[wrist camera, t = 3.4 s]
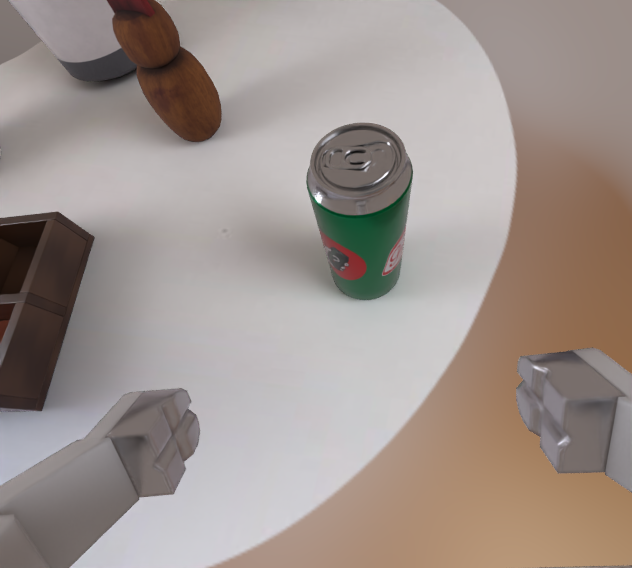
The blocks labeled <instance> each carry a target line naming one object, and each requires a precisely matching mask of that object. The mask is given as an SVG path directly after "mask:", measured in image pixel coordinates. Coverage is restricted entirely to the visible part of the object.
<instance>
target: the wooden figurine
mask: <svg viewBox="0 0 632 568" xmlns="http://www.w3.org/2000/svg"><path fill="white" fill-rule="evenodd" d="M107 2H108V3H109V5H110V7H111V8H112V10H113V12H114V13H115V14H114V16H113V18H112V24H113V31H114V34H115V36H116V39H117V41H118V42H119V44H120V46H121V47H122V49H123V50H124V52H125V53H126V55H127V56H128V58H129V59H130V60H131V61H132V62H133V63H135V64H136V65H137V78H138V81H139V84H140V86H141V89H142V91H143V93H144V95H145V97H146V98H147V100H148V102H149V103H150V105H151V106H152V107H153V109H154V110H155V112H156V113H157V114H158V115H159V116H160V118H161V119H162V120H163V121H164V122H165V123H166V124H167V125H168V126H169V127H170V128H171V129H172V130H173V131H174V132H175V133H176V134H177V135H179V136H180V137H181V138H183V139H185V140H188V141H193V142H198V141H204V140H206V139H209V138H210V137H211V136H212V135H214V134H215V132H216V131H217V129H218V128H219V127H220V123H221V104H220V99H219V95H218V92H217V90H216V88H215V86H214V84H213V82H212V80H211V79H210V77H209V75H208V74H207V72H206V71H205V69H204V67H203V66H202V65H201V63H200V62H199V61H198V60H197V59H196V58H195V57H194V56H193V55H192V54H191V53H190V52H188V51H187V50H185V49H184V48H182V47H180V41H179V34H178V31H177V29H176V27H175V25H174V23H173V21H172V19H171V17H170V16H169V15H168V13H167V12H166V11H165V10H164V8H163V7H162V6H161V5H160V4H159V3H158V2H156V1H155V0H107Z"/></svg>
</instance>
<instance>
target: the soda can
mask: <svg viewBox="0 0 632 568" xmlns="http://www.w3.org/2000/svg"><path fill="white" fill-rule="evenodd" d="M412 176H413V169H412V164H411V161H410V158H409V157H408V155H407V153H406V150H405V147H404V144H403V143H402V141H401V139H400V138H399V137H398V136H397V135H396V134H395V133H394V132H393V131H391V130H390V129H388V128H386V127H384V126H381V125H377V124H373V123H353V124H349V125H345V126H342V127H339V128H337V129H335V130H333V131H331V132H330V133H328V134H327V135H326V136H324V137H323V138H322V139H321V140H320V141H319V142H318V144H317V145H316V147H315V148H314V150H313V153H312V156H311V160H310V166H309V169H308V172H307V180H306V182H307V189H308V192H309V196H310V199H311V203H312V206H313V210H314V213H315V217H316V220H317V224H318V227H319V231H320V234H321V238H322V241H323V245H324V248H325V252H326V255H327V259H328V262H329V266H330V269H331V273H332V276H333V279H334V282H335V284H336V286H337V287H338V288H339V289H340V290H341V291H342V292H343V293H344V294H346V295H347V296H349V297H352V298H355V299H359V300H371V299H376V298H379V297H381V296H383V295H385V294H386V293H388V292H389V291H390V290H391V289H392V288H393V287H394V286H395V284H396V283H397V280H398V278H399V275H400V268H401V260H402V252H403V245H404V237H405V230H406V222H407V215H408V207H409V200H410V192H411V185H412Z"/></svg>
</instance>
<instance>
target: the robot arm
mask: <svg viewBox="0 0 632 568" xmlns="http://www.w3.org/2000/svg"><path fill="white" fill-rule="evenodd" d="M517 372H518V373H519V375H520V376H521V377H522V379H523V381H522V382H521V383H520V384H519V386H518V387H517V388H516V389H517V390H516V393H517V394H516V395H517V396H516V397H517V399H516V400H517V405H518V409H519V413H520V415H521V417H522V420H523V422H524V423H525V425H526V426H527V428H528V429H529V431H531V432H533V433H534V434H536V435H538V436H540V437H541V438H540V448H541V449H542V450H543V452H544V453H545V455H546V456H547V458H548V459H549V461H550V462H551V464H552V465H553V467H554V468H555V470H556V471H557V472H558V473H591V472H605V475H607V476H608V477H610V478H611V479H612V480H614V481H615V482H617V483H618V484H620V485H621V486H623V487H624V488H626V489H627V490H629V491H630V492H632V374H631V373H629V372H628V371H626V370H625V369H624V368H623V367H621V366H620V365H619V364H618V363H616V362H615V361H613V360H612V359H611V358H610V357H608V356H607V355H606V354H604V353H603V352H602V351H601V350H598V349H595V348H586V349H578V350H570V351H566V352H557V353H548V354H538V355H529V356H521V357H520V358H519V361H518V369H517ZM190 403H191V399H190V397H189V394H188V392H187V391H186V390H184V389H182V388H179V389H166V390H152V391H140V392H130V393H127V394H125V395H123V396H122V397H121V398H120V399H119V401H118V402H117V403H116V404H115V405H114V406H113V407H112V408H111V409H110V410H109V412H108V413H107V414H106V415H105V416H104V417H103V418H102V419H101V420H100V421H99V423H98V424H97V425H96V426H95V427H94V428H93V429H92V430H91V431H90V432H89V434H88V435H87V436H86V437H85V438H84V439H82V440H76V441H75V442H73V443H71V444H70V445H68V446H66V447H65V448H63V449H61V450H60V451H58V452H56V453H55V454H53V455H51V456H50V457H48V458H46V459H44V460H43V461H41V462H39V463H38V464H36V465H34V466H33V467H31V468H29V469H28V470H26V471H24V472H23V473H21V474H19V475H18V476H16V477H14V478H13V479H11V480H9V481H8V482H6V483H4V484H3V485H1V486H0V568H69V567H71V566H72V565H73V564H74V563H75V562H76V561H77V560H78V559H79V558H80V557H81V556H82V555H83V554H84V553H85V552H86V551H87V550H88V549H89V548H90V547H91V546H92V545H93V544H94V543H95V542H96V541H97V540H98V539H99V538H100V537H101V536H102V535H103V534H104V533H105V532H106V531H107V530H108V529H109V528H110V527H111V526H112V525H114V524H115V523H116V522H117V521H118V520H119V519H120V518H121V517H122V516H123V515H124V514H125V513H126V512H127V511H128V510H129V509H130V508H131V507H132V506H133V505H134V504H135V503H136V502H137V501H138V500H139V497H148V496H159V495H171V494H174V492H175V490H176V488H177V486H178V484H179V482H180V480H181V478H182V476H183V474H184V472H185V470H186V468H185V464H184V461H185V460H187V459H188V458H189V457H190V456H191V455H193V454H194V452H195V449H196V447H197V445H198V441H199V435H200V427H199V421H198V418H197V416H196V414H194V413H193V412H192V411H191V410H189V409H188V408H189V406H190ZM541 568H542V567H541ZM545 568H632V566H631V565H629V566H586V567H585V566H584V567H545Z"/></svg>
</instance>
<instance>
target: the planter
mask: <svg viewBox="0 0 632 568" xmlns="http://www.w3.org/2000/svg"><path fill="white" fill-rule="evenodd" d="M8 1H9V3H10V4H11V5H12V6H13V7H14V8H15V9H16V11H17V12H18V13H19V14H20V15H21V17H22V18H23V19H24V20H25V21H26V22H27V24H28V25H29V26H30V27H31V28H32V30H33V31H34V32H35V33H36V34H37V35H38V37H39V38H40V39H41V40H42V41H43V43H44V44H45V45H46V46H47V47H48V48H49V50H50V51H51V52H52V53H53V54H54V55H55V57H56V58H57V59H58V60H59V61H60V63H61V64H62V65H63V66H64V67H65V68H66V70H67V71H68V72H69V73H70V74H71V75H72V76H73V77H75V78H77V79H79V80H83V81H103V80H109V79H113V78H117V77H120V76H123V75H125V74H128V73H130V72H132V71H133V70H135V69H136V68H137V65H136V64H135V63H133V62H132V61H131V60H130V59H129V58H128V56H127V55H126V53H125V52H124V50H123V49H122V47H121V46H120V44H119V42H118V41H117V39H116V36H115V34H114V31H113V24H112V18H113V16H114V14H115V13H114V12H113V10H112V8H111V7H110V5H109V3H108V2H107V0H8Z"/></svg>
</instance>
